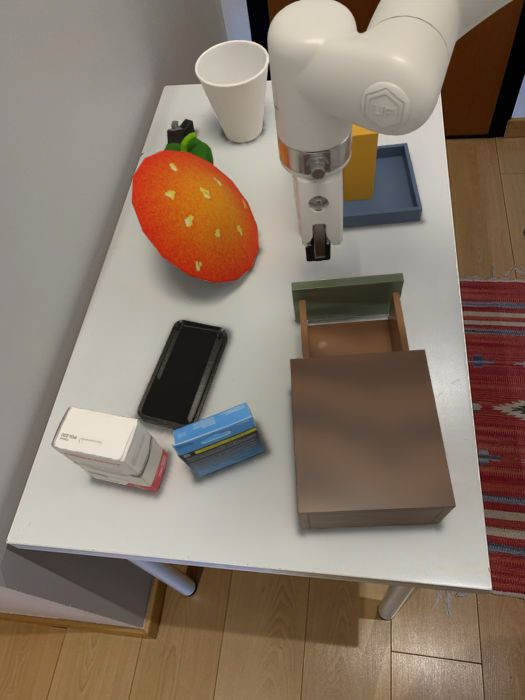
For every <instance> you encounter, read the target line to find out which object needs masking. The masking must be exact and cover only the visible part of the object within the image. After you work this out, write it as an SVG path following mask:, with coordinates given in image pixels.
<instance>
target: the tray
mask: <svg viewBox="0 0 525 700" xmlns="http://www.w3.org/2000/svg"><path fill="white" fill-rule="evenodd" d="M410 153H411V152H410V149H409V144H408V142H403V143H393V144H383V145H377V156H376V166H375V177H374V187H373V198H372V199H365V200H355V201H345V202H344V199H343V229H352V228H361V227H371V226H380V225H391V224H393V225H394V224H402V223H411V222H420V221H421V217H422V213H423V205H422V202H421V197H420V192H419V189H418V183H417V180H416V179H417V178H416V175H415V171H414V166H413V162H412V159H411V154H410Z"/></svg>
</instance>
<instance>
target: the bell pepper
mask: <svg viewBox="0 0 525 700" xmlns="http://www.w3.org/2000/svg"><path fill="white" fill-rule="evenodd" d="M163 150H170V151H181V152H189V153H191V154H193V155H195V156H197V157H199V158H202V159H204V160H206V161H208V162H210V163H212V164H213V165H214V155H213V151H212V148H211V147H210V146H209V145H208V143H206V142H204V141H203V140H201V139H199V138H198V137H197V132H196V131H195V132H192V133H190V134H188V135H187V136H186V137H185V138H184V139H183V141H182V142H181V143H180V144H179V143H169V144H167V143H166V144H165V147H164V149H163ZM214 166H215V165H214Z"/></svg>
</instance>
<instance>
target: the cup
mask: <svg viewBox="0 0 525 700" xmlns="http://www.w3.org/2000/svg"><path fill="white" fill-rule="evenodd" d="M269 65H270V63H269V54H268V50H267V49H266V48H265V47H263V45H261V44H259V43H257V42H255V41H251V40H245V39H234V40H226V41H224V42H220V43H217V44H215V45H213V46H210V47H209V48H208V49H206V50H205V51H204V52H202V53H201V54H200V56H199V57H198V58H197V60H196V62H195V64H194V72H195V76H196V77H197V79H198V81H199V82H200V85H201V86H202V87H201V88H202V89H203V91H204V93H205V96H206V98H207V100H208V102H209V103H210V105H211V108H212V110H213V112H214V114H215V116H216V119H217V120H218V123H219V124H220V127H221V129H222V131H223V134H224V135H225V137H226V138H227V139H228V140H229V141H231V142H234V143H242V144H243V143H248V142H251V141H253V140H255V139H257V137H259V136H260V134H261V133H262V132H263V128H264V127H263V125H264V116H265V104H266V93H267V81H268V72H269V71H268V70H269Z"/></svg>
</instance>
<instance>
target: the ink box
mask: <svg viewBox="0 0 525 700" xmlns="http://www.w3.org/2000/svg"><path fill="white" fill-rule="evenodd" d="M50 445H51V448H53V449H54V450H55V451H57V452H58V453H59V454H61V455H62V456H64V457H65V458H67V459H68V460H70V461H71V462H72V463H74V464H75V465H77V467H79V468H81V469H82V470H83V471H85V472H86V473H87V474H89V475H90V476H92V477H93V478H94V479H96V480H100V481H104V482H105V481H106V482H110V483H114V484H119V485H124V486H128V487H133V488H136V489H137V488H138V489H142V490H146V491H150V492H151V491H152V492H158V491H159V488H160V485H161V482H162V479H163V476H164V473H165V470H166V466H167V463H168V459H169V455H168V453H167V452H166V451H165V450H164V449H163V447H162V446H161V445H160V444H159V442H157V439H155V438H154V437H153V436H152V434H151V433H150V432H149V431H148V430H147V428H146V427H145V426H144V425H143V424H142V422H141V421H140V420H139V419H138V418H133V417H127V416H123V415H118V414H117V415H116V414H112V413H107V412H101V411H96V410H91V409H86V408H80V407H74V406H68V407H67V409H66V411H65V412H64V414H63V416H62V417H61V420H60V421H59V423H58V425H57V427H56V430H55V433H54V436H53V437H52V440H51V443H50Z"/></svg>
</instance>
